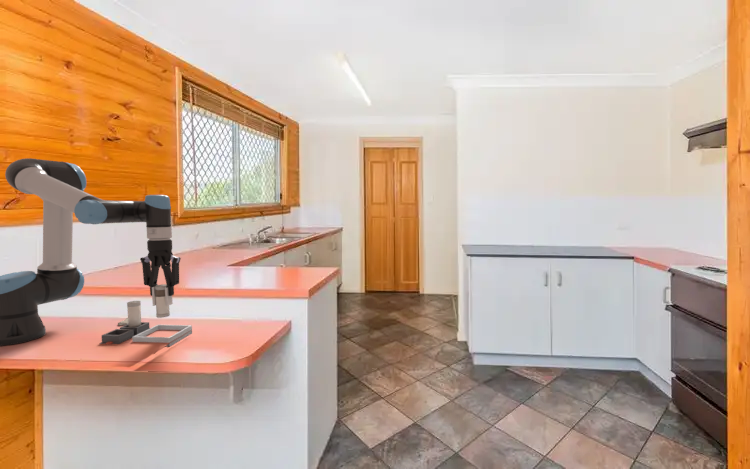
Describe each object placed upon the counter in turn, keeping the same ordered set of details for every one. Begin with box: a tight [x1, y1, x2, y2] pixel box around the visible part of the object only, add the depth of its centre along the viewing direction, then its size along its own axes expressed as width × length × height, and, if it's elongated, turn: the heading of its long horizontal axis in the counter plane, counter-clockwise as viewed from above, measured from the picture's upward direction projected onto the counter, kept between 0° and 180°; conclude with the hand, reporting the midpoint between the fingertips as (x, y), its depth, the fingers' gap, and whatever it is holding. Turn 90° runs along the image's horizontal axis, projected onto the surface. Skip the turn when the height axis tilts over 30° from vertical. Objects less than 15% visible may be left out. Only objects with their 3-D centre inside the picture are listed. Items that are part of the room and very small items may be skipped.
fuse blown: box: [155, 283, 171, 319], centre depth 128 cm, size 4×4×11 cm
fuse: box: [126, 300, 142, 327], centre depth 132 cm, size 4×4×11 cm
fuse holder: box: [99, 321, 151, 345], centre depth 128 cm, size 7×16×4 cm, turn 176°
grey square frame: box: [131, 324, 193, 348], centre depth 129 cm, size 13×13×3 cm
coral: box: [117, 317, 128, 327], centre depth 144 cm, size 6×10×4 cm, turn 20°
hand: (162, 304), depth 128 cm, fingers closed on fuse blown, 4 cm apart
